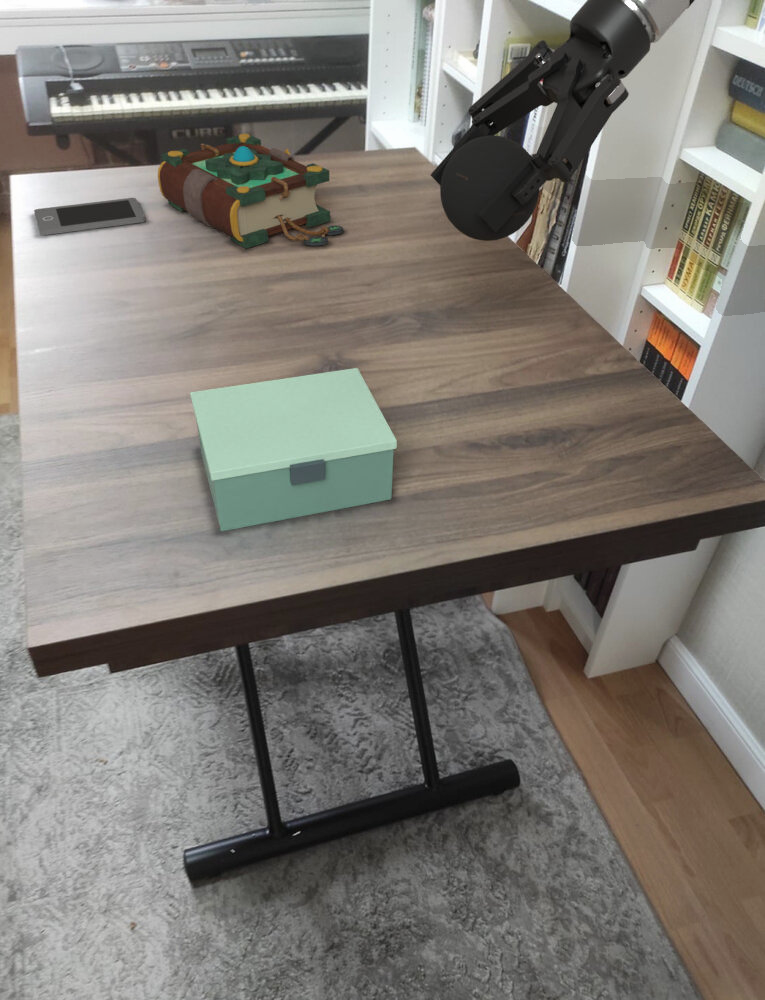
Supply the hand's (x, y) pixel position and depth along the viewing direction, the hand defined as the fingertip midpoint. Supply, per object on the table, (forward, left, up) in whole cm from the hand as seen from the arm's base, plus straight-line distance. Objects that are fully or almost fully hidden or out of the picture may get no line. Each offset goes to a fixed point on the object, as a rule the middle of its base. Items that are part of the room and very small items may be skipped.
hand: (461, 202), depth 84 cm
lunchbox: (0, +27, -19) cm, 33 cm away
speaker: (-2, -3, -4) cm, 5 cm away
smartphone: (+63, +1, -19) cm, 66 cm away
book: (+44, -16, -19) cm, 51 cm away
